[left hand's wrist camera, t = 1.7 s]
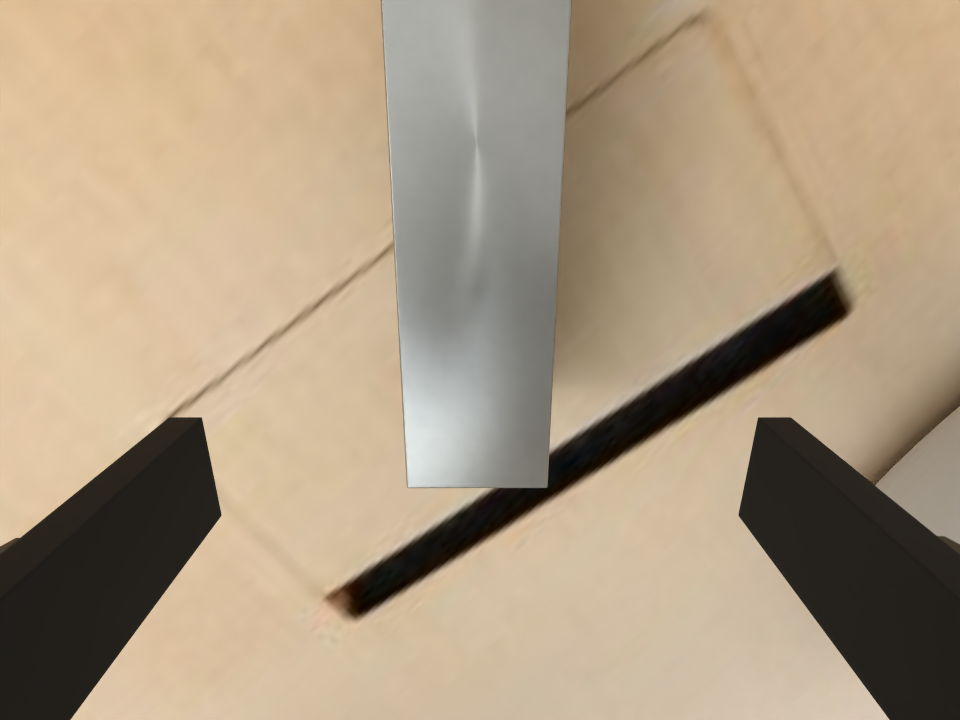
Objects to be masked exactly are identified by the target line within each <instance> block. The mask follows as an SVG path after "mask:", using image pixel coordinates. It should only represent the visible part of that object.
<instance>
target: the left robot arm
mask: <svg viewBox="0 0 960 720" xmlns="http://www.w3.org/2000/svg"><path fill="white" fill-rule="evenodd" d="M220 517H221V510H220V505H219V501H218V496H217V491H216V486H215V481H214V476H213V471H212V466H211V461H210V456H209V451H208V446H207V441H206V436H205V431H204V426H203V421H202V418H168V419H167V420H166V421H164V422H163V423H162V424H161V425H159V426H158V427H157V428H156V429H155V430H153V431H152V432H151V433H150V434H148V435H147V436H146V437H145V438H143V439H142V440H141V441H140V442H138V443H137V444H136V445H135V446H134V447H132V448H131V449H130V450H129V451H127V452H126V453H125V454H124V455H122V456H121V457H120V458H119V459H117V460H116V461H115V462H114V463H113V464H111V465H110V466H109V467H108V468H106V469H105V470H104V471H103V472H101V473H100V474H99V475H98V476H96V477H95V478H94V479H93V480H91V481H90V482H89V483H88V484H87V485H85V486H84V487H83V488H82V489H80V490H79V491H78V492H77V493H75V494H74V495H73V496H72V497H70V498H69V499H68V500H67V501H66V502H64V503H63V504H62V505H61V506H59V507H58V508H57V509H56V510H54V511H53V512H52V513H51V514H49V515H48V516H47V517H46V518H45V519H43V520H42V521H41V522H40V523H38V524H37V525H36V526H35V527H33V528H32V529H31V530H30V531H28V532H27V533H26V534H25V535H24V536H22V537H21V538H15V539H13V540H12V541H10V542H8V543H6V544H4V545H2V546H0V720H70V719H71V718H72V717H73V715H74V714H75V713H76V711H77V710H78V709H79V707H80V706H81V705H82V703H83V702H84V700H85V699H86V698H87V696H88V695H89V694H90V692H91V691H92V690H93V688H94V687H95V686H96V684H97V683H98V682H99V680H100V679H101V678H102V676H103V675H104V673H105V672H106V671H107V669H108V668H109V667H110V665H111V664H112V663H113V661H114V660H115V659H116V657H117V656H118V655H119V653H120V652H121V651H122V649H123V648H124V646H125V645H126V644H127V642H128V641H129V640H130V638H131V637H132V636H133V634H134V633H135V632H136V630H137V629H138V628H139V626H140V625H141V623H142V622H143V621H144V619H145V618H146V617H147V615H148V614H149V613H150V611H151V610H152V609H153V607H154V606H155V605H156V603H157V602H158V601H159V599H160V598H161V596H162V595H163V594H164V592H165V591H166V590H167V588H168V587H169V586H170V584H171V583H172V582H173V580H174V579H175V578H176V576H177V575H178V574H179V572H180V571H181V569H182V568H183V567H184V565H185V564H186V563H187V561H188V560H189V559H190V557H191V556H192V555H193V553H194V552H195V551H196V549H197V548H198V546H199V545H200V544H201V542H202V541H203V540H204V538H205V537H206V536H207V534H208V533H209V532H210V530H211V529H212V528H213V526H214V525H215V524H216V522H217V521H218V519H219V518H220ZM739 517H740V518H741V519H742V521H743V522H744V524H745V525H746V526H747V528H748V529H749V530H750V532H751V533H752V534H753V536H754V537H755V538H756V540H757V541H758V542H759V544H760V545H761V546H762V548H763V549H764V551H765V552H766V553H767V555H768V556H769V557H770V559H771V560H772V561H773V563H774V564H775V565H776V567H777V568H778V569H779V571H780V572H781V574H782V575H783V576H784V578H785V579H786V580H787V582H788V583H789V584H790V586H791V587H792V588H793V590H794V591H795V592H796V594H797V595H798V596H799V598H800V599H801V601H802V602H803V603H804V605H805V606H806V607H807V609H808V610H809V611H810V613H811V614H812V615H813V617H814V618H815V619H816V621H817V622H818V623H819V625H820V626H821V628H822V629H823V630H824V632H825V633H826V634H827V636H828V637H829V638H830V640H831V641H832V642H833V644H834V645H835V646H836V648H837V649H838V651H839V652H840V653H841V655H842V656H843V657H844V659H845V660H846V661H847V663H848V664H849V665H850V667H851V668H852V669H853V671H854V672H855V673H856V675H857V676H858V678H859V679H860V680H861V682H862V683H863V684H864V686H865V687H866V688H867V690H868V691H869V692H870V694H871V695H872V696H873V698H874V699H875V700H876V702H877V703H878V705H879V706H880V707H881V709H882V710H883V711H884V713H885V714H886V715H887V717H888V718H889V719H890V720H960V544H958V543H956V542H955V541H953V540H951V539H949V538H947V537H945V536H936V535H935V534H934V533H933V532H932V531H930V530H929V529H928V528H927V527H925V526H924V525H923V524H922V523H920V522H919V521H918V520H917V519H915V518H914V517H913V516H912V515H911V514H909V513H908V512H907V511H906V510H904V509H903V508H902V507H901V506H899V505H898V504H897V503H896V502H894V501H893V500H892V499H891V498H890V497H888V496H887V495H886V494H885V493H883V492H882V491H881V490H880V489H878V488H877V487H876V486H875V485H873V484H872V483H871V482H870V481H869V480H867V479H866V478H865V477H864V476H862V475H861V474H860V473H859V472H857V471H856V470H855V469H854V468H852V467H851V466H850V465H849V464H847V463H846V462H845V461H844V460H843V459H841V458H840V457H839V456H838V455H836V454H835V453H834V452H833V451H831V450H830V449H829V448H828V447H826V446H825V445H824V444H823V443H822V442H820V441H819V440H818V439H817V438H815V437H814V436H813V435H812V434H810V433H809V432H808V431H807V430H805V429H804V428H803V427H802V426H801V425H799V424H798V423H797V422H796V421H794V420H793V419H792V418H758V421H757V426H756V431H755V436H754V441H753V446H752V451H751V456H750V461H749V466H748V471H747V476H746V481H745V486H744V491H743V496H742V501H741V505H740V510H739Z"/></svg>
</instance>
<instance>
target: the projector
mask: <svg viewBox="0 0 960 720" xmlns="http://www.w3.org/2000/svg"><path fill="white" fill-rule="evenodd" d="M875 486H876V487H877V488H878V489H880V490H881V491H882V492H883V493H885V494H886V495H887V496H888V497H890V498H891V499H892V500H893V501H894V502H896V503H897V504H898V505H899V506H901V507H902V508H903V509H904V510H906V511H907V512H908V513H909V514H911V515H912V516H913V517H914V518H915V519H917V520H918V521H919V522H920V523H922V524H923V525H924V526H925V527H927V528H928V529H929V530H930V531H932V532H933V533H934V534H935V535H936V536H945V537H947V538H949V539H951V540H953V541H955V542H956V543H958V544H960V406H959V407H958V408H957V409H956V410H955V411H953V412H952V413H951V414H950V415H949V416H947V417H946V418H945V419H944V420H943V421H942V422H941V423H940V424H938V425H937V426H936V427H935V428H934V429H933V430H932V431H931V432H930V433H928V434H927V435H926V436H925V437H924V438H923V439H922V440H921V441H920V442H918V443H917V444H916V445H915V446H914V447H913V448H912V449H911V450H910V451H909V452H908V453H907V454H906V455H905V456H904V457H903V458H902V459H901V460H900V461H899V462H897V463H896V464H895V465H894V466H893V467H892V468H891V469H890V470H889V471H888V472H887V473H886V474H885V475H884V476H883V477H882V479H881V480H880V481H879V482H878V483H877V484H876V485H875Z"/></svg>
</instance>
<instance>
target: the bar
mask: <svg viewBox="0 0 960 720" xmlns="http://www.w3.org/2000/svg"><path fill="white" fill-rule="evenodd" d="M571 1H572V0H381V13H382V32H383V50H384V69H385V88H386V106H387V125H388V144H389V162H390V181H391V200H392V218H393V237H394V255H395V274H396V293H397V311H398V330H399V349H400V367H401V386H402V405H403V423H404V442H405V461H406V479H407V488H546V487H547V483H548V463H549V443H550V423H551V403H552V382H553V362H554V342H555V322H556V302H557V282H558V262H559V242H560V222H561V202H562V182H563V161H564V141H565V121H566V101H567V81H568V61H569V41H570V21H571Z"/></svg>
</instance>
